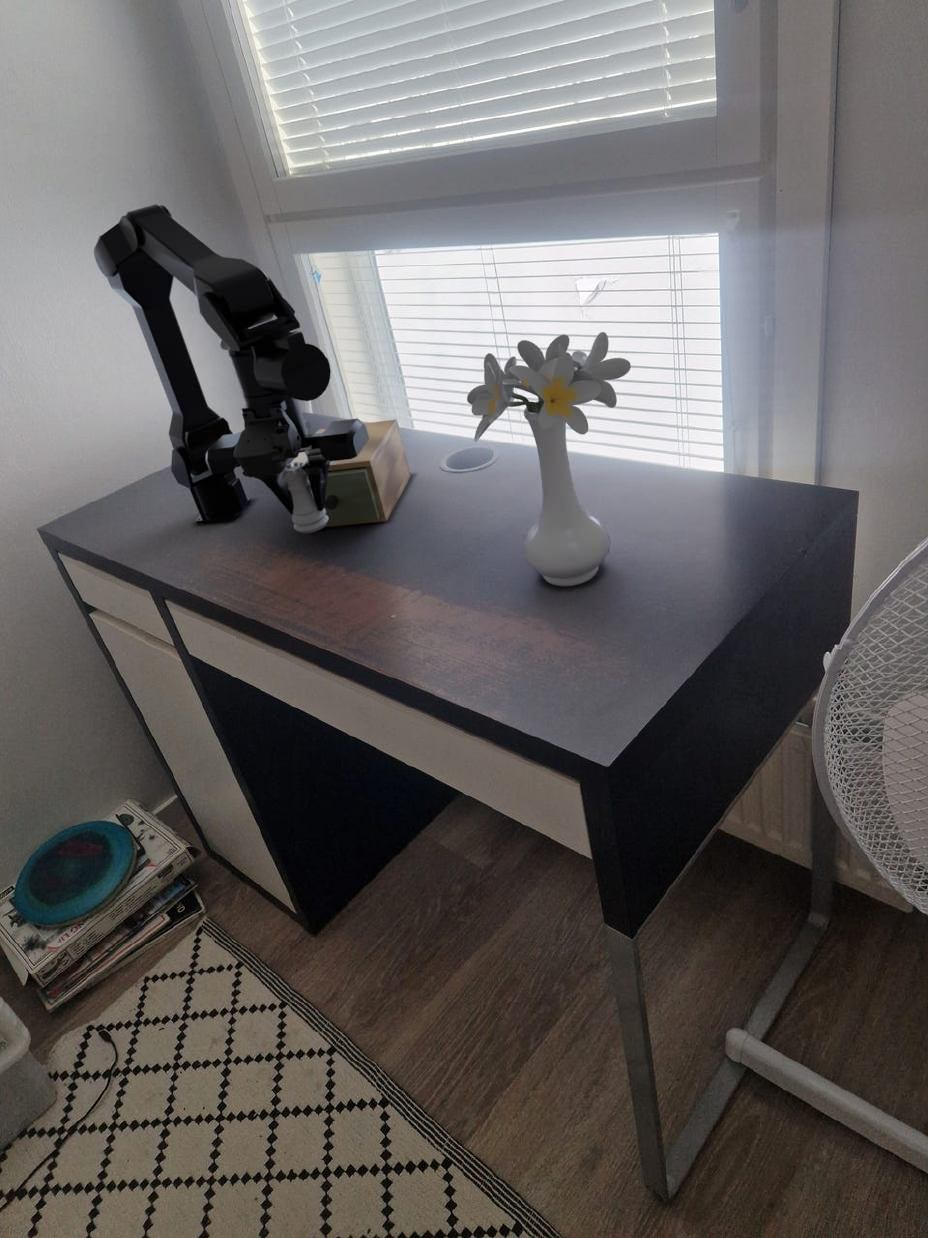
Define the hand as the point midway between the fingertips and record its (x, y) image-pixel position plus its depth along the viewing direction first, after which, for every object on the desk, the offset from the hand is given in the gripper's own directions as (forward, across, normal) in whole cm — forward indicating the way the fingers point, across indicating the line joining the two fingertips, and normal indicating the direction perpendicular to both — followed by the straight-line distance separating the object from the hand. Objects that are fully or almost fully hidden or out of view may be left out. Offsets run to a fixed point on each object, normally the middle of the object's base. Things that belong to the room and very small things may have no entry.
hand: (307, 511), depth 104 cm
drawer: (+6, 0, +14) cm, 15 cm away
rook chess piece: (+2, 0, 0) cm, 2 cm away
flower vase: (+7, +32, -7) cm, 34 cm away
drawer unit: (+7, 0, +16) cm, 17 cm away
